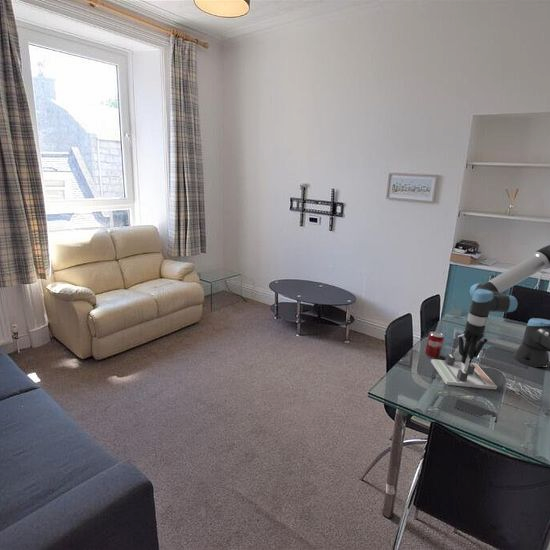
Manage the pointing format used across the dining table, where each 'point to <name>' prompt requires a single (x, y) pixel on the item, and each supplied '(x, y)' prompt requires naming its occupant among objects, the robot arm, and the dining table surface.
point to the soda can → (434, 344)
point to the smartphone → (472, 408)
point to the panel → (473, 380)
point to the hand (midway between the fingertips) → (464, 369)
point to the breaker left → (450, 359)
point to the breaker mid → (470, 369)
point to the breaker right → (462, 375)
